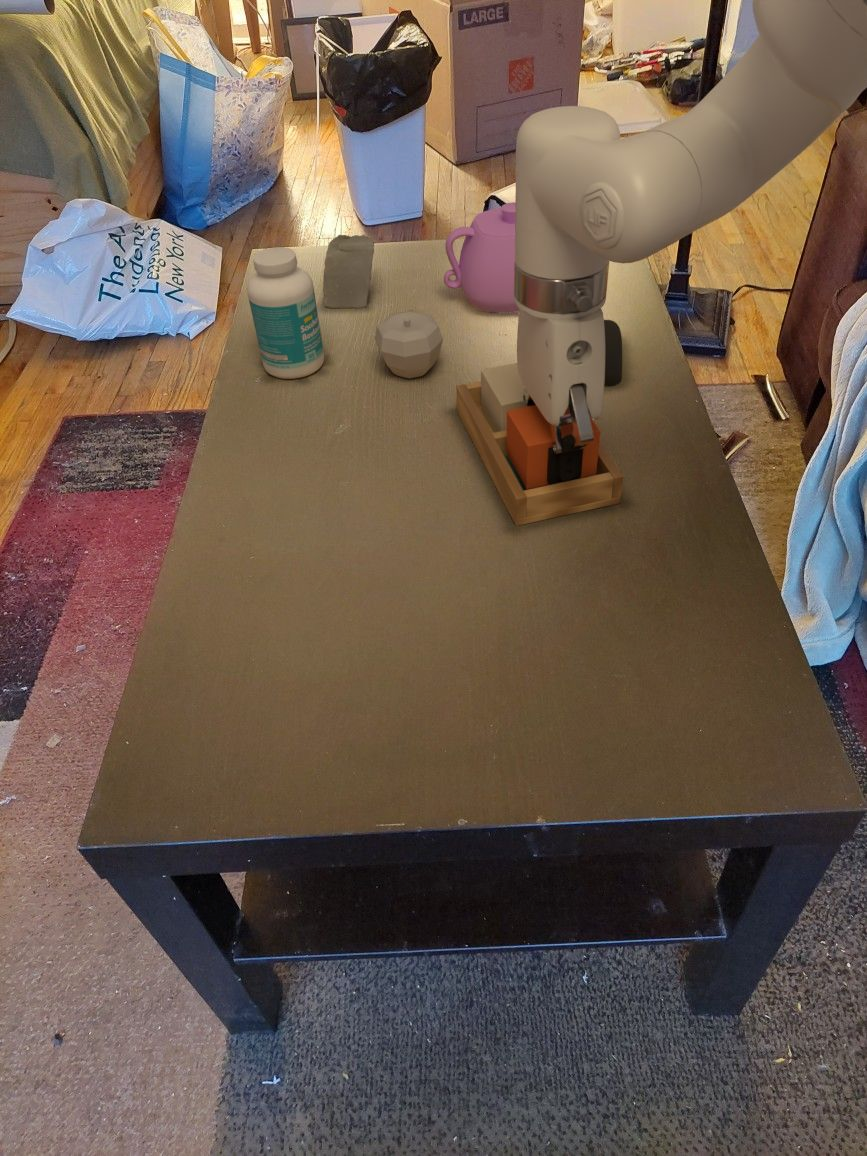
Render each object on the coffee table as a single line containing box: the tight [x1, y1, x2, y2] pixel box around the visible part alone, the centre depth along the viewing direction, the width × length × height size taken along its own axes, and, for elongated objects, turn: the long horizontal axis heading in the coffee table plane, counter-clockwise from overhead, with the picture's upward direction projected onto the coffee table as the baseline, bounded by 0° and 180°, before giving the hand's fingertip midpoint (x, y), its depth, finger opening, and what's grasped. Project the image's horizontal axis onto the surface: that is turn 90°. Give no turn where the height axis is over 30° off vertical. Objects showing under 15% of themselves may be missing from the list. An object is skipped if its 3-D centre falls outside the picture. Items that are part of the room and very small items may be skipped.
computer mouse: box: [604, 319, 623, 387], centre depth 97 cm, size 6×11×4 cm, turn 174°
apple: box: [374, 309, 444, 380], centre depth 97 cm, size 8×8×7 cm
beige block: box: [480, 362, 528, 433], centre depth 87 cm, size 6×7×5 cm
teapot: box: [443, 201, 519, 314], centre depth 106 cm, size 20×13×12 cm, turn 97°
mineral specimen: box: [322, 234, 375, 309], centre depth 110 cm, size 7×9×8 cm
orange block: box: [506, 405, 601, 489], centre depth 79 cm, size 7×6×5 cm
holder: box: [455, 380, 625, 527], centre depth 85 cm, size 10×20×3 cm, turn 15°
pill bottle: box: [246, 246, 325, 380], centre depth 96 cm, size 8×7×14 cm
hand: (551, 458), depth 81 cm, fingers closed on orange block, 6 cm apart
